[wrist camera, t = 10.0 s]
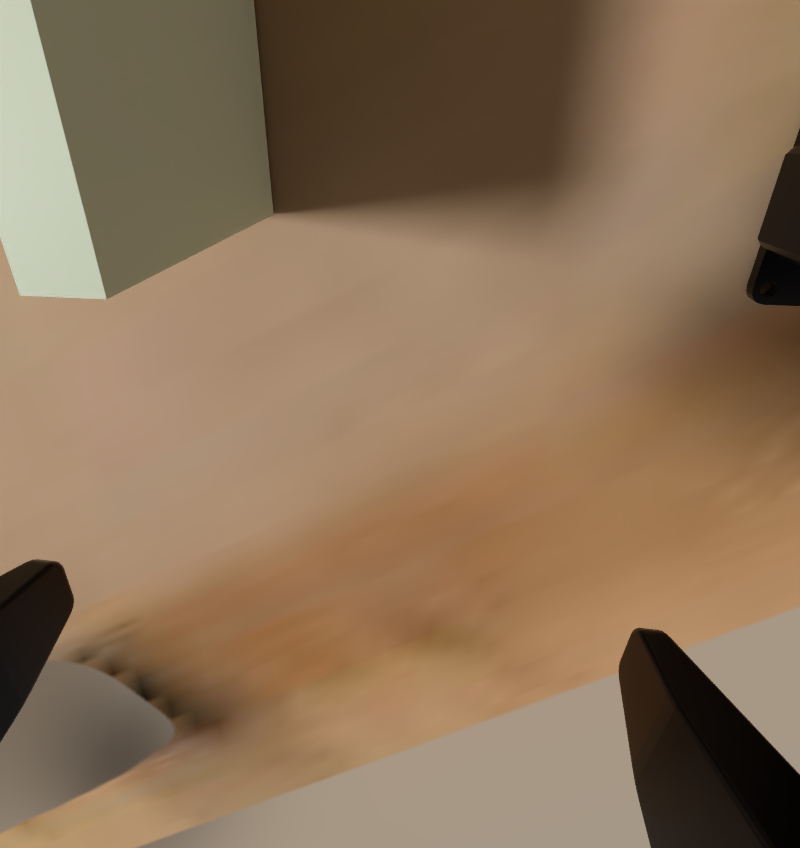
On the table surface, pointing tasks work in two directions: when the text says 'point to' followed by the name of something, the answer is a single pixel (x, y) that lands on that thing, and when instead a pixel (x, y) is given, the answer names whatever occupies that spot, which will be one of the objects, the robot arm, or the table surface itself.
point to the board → (126, 138)
